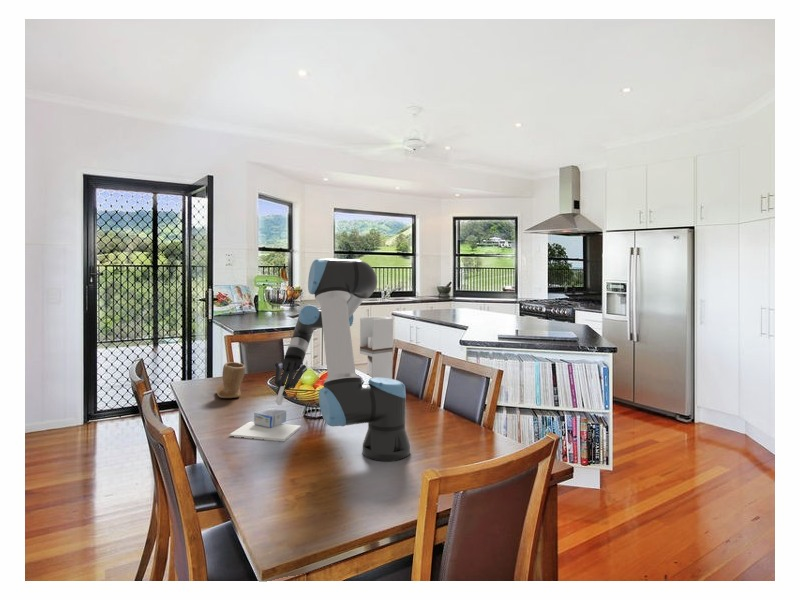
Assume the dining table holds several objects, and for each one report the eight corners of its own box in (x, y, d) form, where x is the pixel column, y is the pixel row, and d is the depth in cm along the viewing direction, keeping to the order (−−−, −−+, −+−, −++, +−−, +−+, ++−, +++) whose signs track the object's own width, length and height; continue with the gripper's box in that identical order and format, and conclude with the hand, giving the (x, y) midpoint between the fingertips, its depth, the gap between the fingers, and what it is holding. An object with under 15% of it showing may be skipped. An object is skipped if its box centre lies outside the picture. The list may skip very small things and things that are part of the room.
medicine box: (270, 418, 178) (253, 424, 170) (270, 406, 178) (253, 412, 170) (286, 421, 175) (270, 428, 167) (286, 410, 174) (270, 416, 167)
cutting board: (284, 441, 157) (284, 439, 157) (229, 436, 161) (229, 434, 161) (300, 427, 171) (300, 425, 171) (250, 423, 174) (249, 421, 174)
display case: (378, 387, 232) (379, 316, 229) (392, 391, 224) (393, 318, 221) (359, 390, 224) (360, 317, 222) (372, 395, 216) (373, 319, 214)
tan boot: (246, 398, 207) (246, 365, 206) (217, 401, 202) (217, 366, 201) (243, 390, 221) (243, 358, 220) (216, 392, 216) (216, 360, 215)
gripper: (314, 357, 192) (297, 409, 176) (284, 355, 194) (265, 407, 179) (309, 346, 186) (291, 399, 171) (278, 345, 189) (258, 396, 173)
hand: (278, 403), depth 175 cm, fingers closed
